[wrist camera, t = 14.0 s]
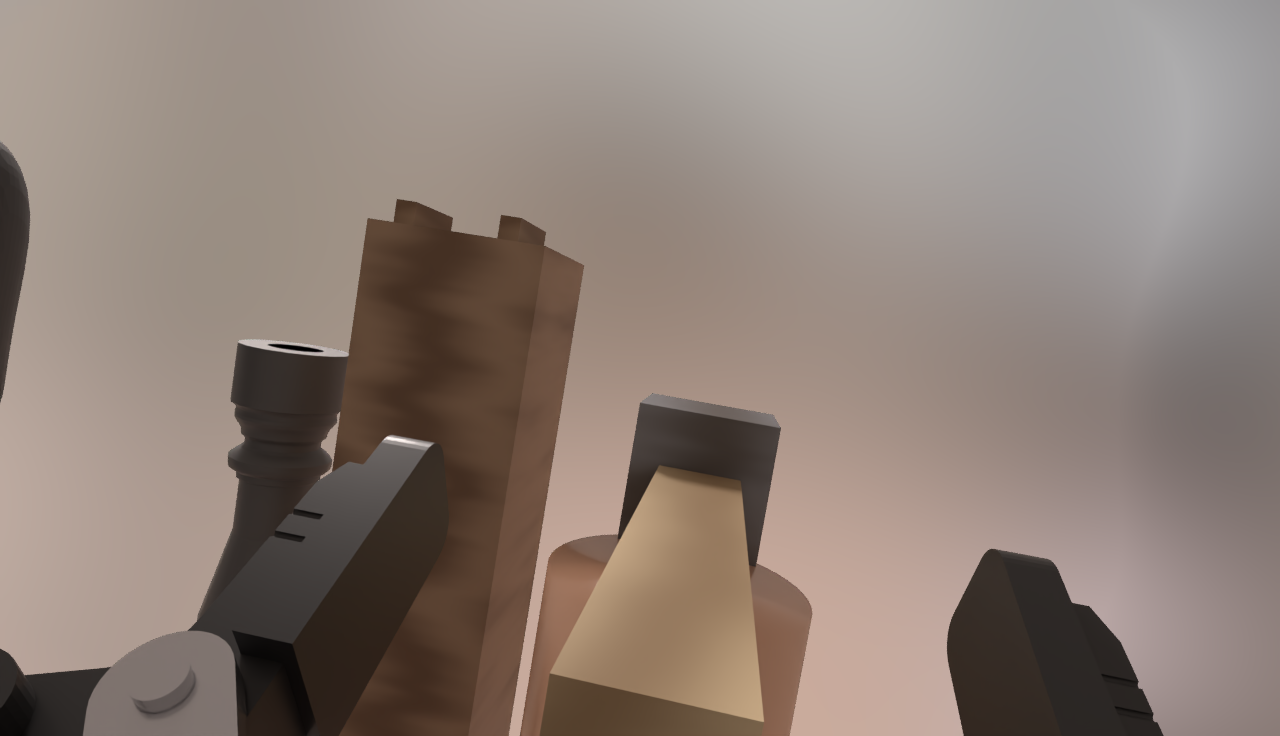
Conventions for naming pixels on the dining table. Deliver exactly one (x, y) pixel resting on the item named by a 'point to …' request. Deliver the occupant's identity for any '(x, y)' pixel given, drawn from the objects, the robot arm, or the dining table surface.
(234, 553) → the candle holder
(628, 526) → the mallet
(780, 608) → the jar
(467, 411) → the stand
